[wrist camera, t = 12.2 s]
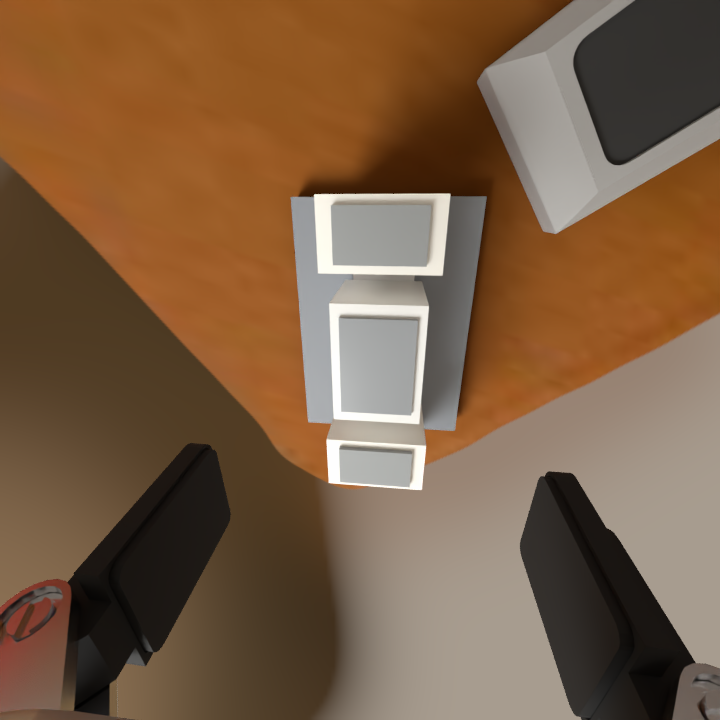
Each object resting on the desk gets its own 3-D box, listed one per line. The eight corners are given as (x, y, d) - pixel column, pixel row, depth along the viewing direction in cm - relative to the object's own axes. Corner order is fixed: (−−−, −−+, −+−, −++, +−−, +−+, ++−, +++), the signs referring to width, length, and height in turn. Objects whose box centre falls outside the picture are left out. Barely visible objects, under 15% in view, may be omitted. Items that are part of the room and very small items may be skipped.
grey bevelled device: (490, 60, 17) (899, -260, 12) (475, 84, 20) (789, -158, 15) (565, 235, 19) (918, 32, 15) (540, 230, 23) (822, 64, 18)
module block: (421, 281, 22) (429, 307, 17) (414, 376, 25) (419, 426, 20) (345, 279, 23) (328, 304, 17) (347, 373, 26) (333, 421, 20)
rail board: (481, 196, 22) (525, 192, 14) (451, 420, 29) (470, 497, 21) (297, 197, 23) (246, 194, 15) (312, 412, 30) (282, 482, 22)
